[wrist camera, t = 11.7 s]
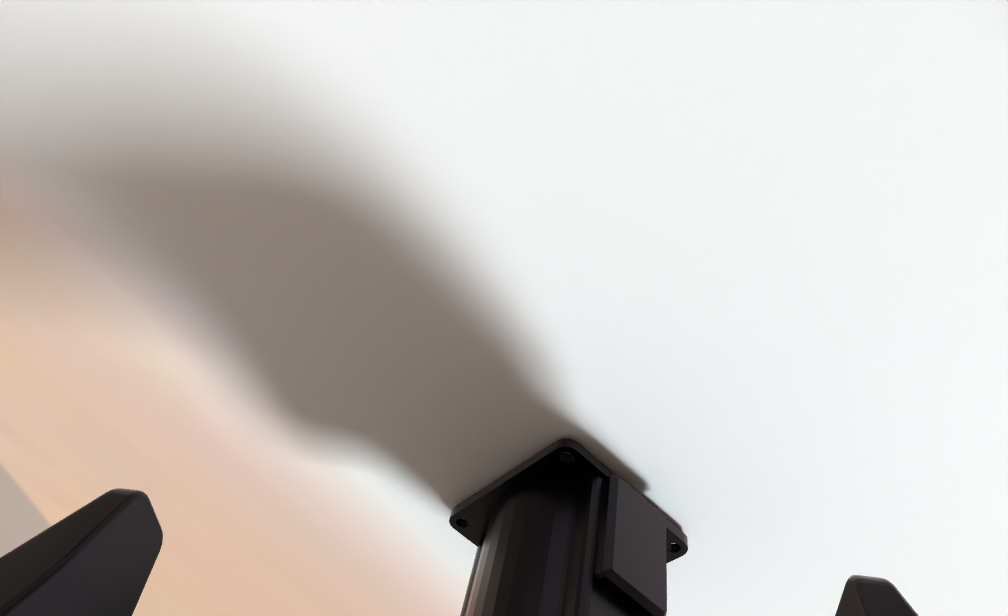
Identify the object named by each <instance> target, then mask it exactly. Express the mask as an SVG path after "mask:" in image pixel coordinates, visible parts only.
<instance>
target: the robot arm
mask: <svg viewBox="0 0 1008 616" xmlns="http://www.w3.org/2000/svg"><path fill="white" fill-rule="evenodd" d="M563 452H569V453H571V455H566V454H564V453H563ZM462 518H463V519H462ZM449 522H450V525H451V526H452V527H453V528H454V529H455V530H457V531H458V532H459V533H461V534H462V535H463V536H464V537H466V538H467V539H468V540H470V541H471V542H472V543H474V544H475V545H476V546H477V547H478V549H477V553H476V557H475V561H474V564H473V568H472V572H471V576H470V580H469V584H468V588H467V592H466V596H465V600H464V604H463V608H462V611H461V615H460V616H666V612H667V571H666V563H668V562H671V561H673V560H675V559H677V558H679V557H681V556H683V555H684V554H686V552H687V550H688V540H687V536H686V535H685V534H684V533H683V532H682V531H681V530H680V529H678V528H677V527H676V526H675V525H674V524H673V523H671V522H670V521H669V520H668V519H667V518H666V517H665V515H664V514H663V513H661V512H660V511H659V510H658V509H657V508H656V507H654V506H653V505H652V504H651V503H650V502H649V501H647V500H646V499H645V498H644V497H643V496H642V495H640V494H639V493H638V492H637V491H636V490H635V489H633V488H632V487H631V486H630V485H629V484H628V483H627V482H625V481H624V480H623V479H622V478H621V477H619V476H617V475H616V474H614V473H613V472H612V471H611V470H610V469H609V468H607V467H606V466H605V465H604V464H603V463H602V462H600V461H599V460H598V459H597V458H596V457H595V456H593V455H592V454H591V453H590V452H589V451H588V450H586V449H585V448H584V447H583V446H582V445H581V444H579V443H578V442H576V441H575V440H572V439H568V438H567V439H561V440H558V441H556V442H555V443H553V444H552V445H550V446H549V447H547V448H546V449H544V450H543V451H541V452H539V453H538V454H536V455H535V456H533V457H532V458H530V459H529V460H527V461H525V462H524V463H522V464H521V465H519V466H518V467H516V468H515V469H513V470H512V471H510V472H508V473H507V474H505V475H504V476H502V477H501V478H499V479H498V480H496V481H495V482H493V483H491V484H490V485H488V486H487V487H485V488H484V489H482V490H481V491H479V492H478V493H476V494H474V495H473V496H471V497H470V498H468V499H467V500H465V501H464V502H462V503H461V504H459V505H457V506H456V507H455V508H454V509H453V510H452V512H451V516H450V520H449ZM162 540H163V533H162V529H161V526H160V524H159V521H158V519H157V517H156V514H155V512H154V509H153V507H152V505H151V502H150V500H149V498H148V496H147V495H146V494H145V493H144V492H142V491H138V490H130V489H113V490H110V491H108V492H106V493H105V494H103V495H101V496H100V497H98V498H97V499H95V500H93V501H92V502H90V503H89V504H87V505H85V506H84V507H82V508H80V509H79V510H77V511H76V512H74V513H72V514H71V515H69V516H67V517H66V518H64V519H63V520H61V521H59V522H58V523H56V524H54V525H53V526H51V527H50V528H48V529H46V530H45V531H43V532H42V533H40V534H38V535H37V536H35V537H33V538H32V539H30V540H29V541H27V542H25V543H24V544H22V545H20V546H19V547H17V548H16V549H14V550H13V551H11V552H9V553H7V554H6V555H4V556H3V557H1V558H0V616H132V614H133V612H134V610H135V607H136V605H137V603H138V600H139V598H140V596H141V593H142V591H143V589H144V586H145V584H146V582H147V579H148V577H149V575H150V573H151V570H152V568H153V566H154V563H155V561H156V559H157V556H158V554H159V552H160V549H161V545H162ZM671 543H676V544H671ZM835 616H918V614H917V613H916V612H915V611H914V610H913V608H912V607H911V606H910V605H909V603H908V602H907V601H906V600H905V598H904V597H903V596H902V595H901V594H900V592H899V591H898V590H897V589H896V587H895V586H894V585H893V584H892V583H891V582H889V581H888V580H886V579H883V578H877V577H868V576H860V575H853V576H851V577H850V578H849V579H848V580H847V582H846V585H845V588H844V591H843V594H842V597H841V600H840V603H839V606H838V609H837V612H836V615H835Z"/></svg>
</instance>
